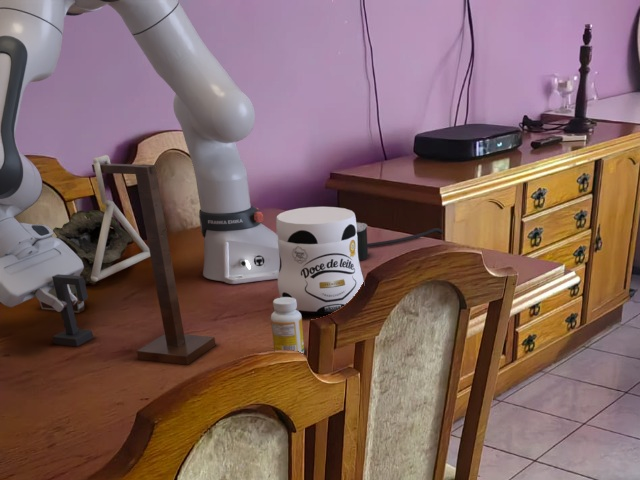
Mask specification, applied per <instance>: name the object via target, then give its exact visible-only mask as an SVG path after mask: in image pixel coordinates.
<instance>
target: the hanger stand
mask: <svg viewBox="0 0 640 480" xmlns="http://www.w3.org/2000/svg"><path fill="white" fill-rule="evenodd" d="M92 162H93V164H91V168H92V172H93V173H95V177H96V181H97V186H98V191H99V196H100V200H101V201H100V202H101V203H102V204H103V205H105V210H104V212H105V213H104V218H103V223H102V227H101V232H100V237H99V241H98V246H97V251H96V255H95V260H94V265H93V269H92V274H91V280H92V281H94V282H96V281H97V282H98V281H101V280H103V279H106V278H107V277H109V276H112V275H114V274H116V273H118V272H120V271H122V270H124V269H127V268H128V267H132V266H133V265H135V264H137V263H140V262H141V261H144V260H146V259H148V258H150V261H151V266H152V272H153V277H154V282H155V288H156V293H157V299H158V305H159V310H160V316H161V321H162V326H163V332H164V334H162V335H160V336H159V337H157V338H155V339H154V340H152V341H150V342H149V343H147V344H146V345H144V346H142V347H141V348H139V349H137V350H136V355H137V359H138V360H141V361H148V362H149V361H150V362H158V363H168V364H175V365H183V366H185V365H186V366H188V365H189V364H192V363H193V362H194V361H196V360H197V359H198V358H200V357H201V356H203V355H204V354H206V353H207V352H208V351H210V350H212V349H213V348H214V347H216V346H217V345H216V338H215V336H207V335H197V334H188V333H184V332H185V331H184V326H183V320H182V314H181V308H180V303H179V297H178V292H177V291H178V290H177V285H176V279H175V273H174V268H173V263H172V256H171V251H170V245H169V238H168V233H167V227H166V221H165V215H164V209H163V203H162V196H161V192H160V186H159V180H158V173H157V167H156V164H143V163H142V164H135V163H134V164H133V163H132V164H131V163H111V158H110V156H109V155H108V154H104V155H100V156H97V157H94V158H93V159H92ZM103 174H115V175H116V174H117V175H118V174H119V175H134V176H135V180H136V185H137V191H138V196H139V201H140V206H141V213H142V217H143V223H144V228H145V229H144V230H145V234H146V239H147V244H146V243H145V241H144V240H143V239H142V237H141V236H140V234H139V233H138V232H137V231H136V229H135V228H134V227H133V226H132V224H131V223H130V222H129V220H128V219H127V217H126V216H125V215H124V214H123V213H122V212H121V210H120V209H119V207H118V205H116V204H115V202H114V201H113V200H109V199H107V194H106V188H105V183H104V178H103ZM113 215H114V218H115V219H116V220H117V221H118V222H119V223H120V225H121V226H122V228H124V230H125V231H127V232H128V233H129V234H130V236H131V237H132V238H133V241H134V242H135V243H136V245H137V246H138V247H139V249H140V250H141V251H142V252H140V253H137V254H135V255H133V256H131V257H128V258H126V259H124V260H122V261H120V262H117V263H115V264H112V265H111V266H110V267H108V268H106V269H104V270H102V271H100V270H101V265H102V260H103V255H104V251H105V246H106V241H107V237H108V232H109V227H110V223H111V218H112V217H113ZM110 228H111V227H110ZM97 282H96V283H97Z"/></svg>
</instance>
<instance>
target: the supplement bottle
mask: <svg viewBox="0 0 640 480" xmlns="http://www.w3.org/2000/svg"><path fill="white" fill-rule="evenodd" d="M272 307H273V310H274V311H273V312H272V313H271V314H270V325H271V333H272V341H273V342H272V344H273V351H274V350H294V351H299V352H301V353H303V354H304V353H305V341H304V330H303V329H304V328H303V317H302V313H300V312H299V311H297V310H295V309H296V308H297V303H296V299H294V298H291V297H281V298H280V297H277V298H274V299H273V301H272Z"/></svg>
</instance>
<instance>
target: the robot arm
mask: <svg viewBox="0 0 640 480" xmlns="http://www.w3.org/2000/svg"><path fill="white" fill-rule="evenodd" d="M106 5H108V6H109V7H111V8H112V9H113V10H114V11H115V12H116V13H117V14H118V15H119V16H120V17H121V19H122V21H123V22H124V25H125V26H126V27H127V29H128V30H129V32H130V34H131V35H132V38H133V39H134V40H135V42H136V43H137V45H138V47H139V48H140V50H141V51H142V53H143V54H144V55H145V57H146V59H147V60H148V62H149V63H150V65H151V66H152V68H153V70H154V71H155V73H156V74H157V75H158V77H160V78H161V79H162V80H163V81H164V82H165V83H166V84H167V85H168V86H169V88H170V89H171V90H172V91H173V93H174V97H173V101H172V102H173V103H172V104H173V106H172V107H173V112H174V115H175V117H176V120H177V121H178V123H179V125H180V128H181V131H182V134H183V138H184V141H185V144H186V145H185V146H186V148H187V151H188V155H189V157H190V160H191V164H192V166H193V171H194V175H195V180H196V187H197V188H196V189H197V194H198V202H199V211H198V214H199V215H198V218H199V226H200V233H201V235H202V237H203V245H204V247H203V249H204V254H203V255H204V258H203V259H204V261H203V271H202V276H203V278H206V279H208V280H211V281H217V282H218V281H219V282H224V283H225V284H230V285H237V284H245V283H253V282H254V283H255V282H261V281H269V280H270V281H271V280H278V274H279V268H280V256H279V248H278V236H277V232H275V231H273V230H272V229H270V228H269V227H267V226H266V225H264V224H262V223H263V221H264V215H263V213H262V211H261V210H260V209H259V207H254V206H253V205H251V195H250V187H249V178H248V171H247V168H246V165H245V163H244V162H243V160H242V157H241V155H240V152H239V149H238V146H237V143H236V142H240V141H242V140H245V139H246V138H247V137H248V136H249V135H250V134H251V132H252V131H253V129H254V127H255V122H256V112H255V108H254V105H253V103H252V100H251V99H250V98H249V97H248V95H246V93H244V92H243V91H242V90H241V89H240V87H239V86H238V85H237V84H236V82H235V81H234V80H233V78H232V77H231V76H230V75H229V73H228V72H227V71H226V70H225V68H224V67H223V66H222V64H221V63H220V62H219V60H218V59H217V58H216V56H214V55H213V53H212V52H211V50H210V49H209V48H208V47H207V45H206V44H205V43H204V41H203V40H202V37H200V35H199V33H198V32H197V29H195V27H194V25H193V23H192V21H191V20H190V18H189V16H188V15H187V13H186V11H185V9H184V8H183V6H182V5H181V3H180V1H179V0H0V303H1V304H2V305H4V306H6V307H8V308H13V307H15V306H19V305H20V304H22V303H24V302H27V301H29V300H32V299H34V298H35V299H37V300H38V302H39V301H41V302H43V303H46V304H48V305H50V306H52V307H53V308H54V309H55V310H54V311H56V312H57V313H61V311H62V310H64V309H65V308H66V306H67V303H66V302H65V301H63V299H62V298H61V297H60V298H56V297H55V296H53V295H51V294H49V293H48V292H49V290H52V289H54V288H55V287H54V282H53V278H52V276H55V275H57V274H60V275H72V276H79V275H80V274H81V272H82V270H83V269H84V265H83V262H82V260H81V259H80V258H79V257H78V256H77V255H76V254H75V253H74V252H73V251H72V250H71V249H70V248H69V247H68V246H67V245H66V244H65V243H64V242H63V241H61V240H60V239H58V238H56V237H57V236H53V235H54V232H53V229H52V228H50V227H49V226H48V225H46V224H33V223H26V222H19V221H18V220H17V218H15V217H17V216H19V215H21V214H22V213H24V212H25V211H26V210H28V209H29V208H31V207H32V206H33V205H34V204H36V203H37V202H38V200H39V199H40V197H41V194H42V192H43V188H44V187H43V178H42V175H41V172H40V170H39V168H38V167H37V166H36V165H35V163H33V162H32V161H31V160H30V159H29V158H28V157H27V156H26V155H24V154H23V153H22V152H21V151H20V150H19V147H18V144H17V138H16V132H17V126H18V122H19V121H18V120H19V117H20V111H21V106H22V100H23V95H24V91H25V89H26V87H27V86H28V85H29V84H30V83H35V82H36V83H37V82H41V81H43V80H46V79H48V78H50V77H51V76H52V75H54V73H55V70H56V68H57V66H58V63H59V59H60V57H61V52H62V47H63V46H62V44H63V37H64V28H65V19H66V16H71V17H73V16H75V17H76V16H80V15H83V14H86V13H87V14H88V13H92V12H95V11H99V10H101V9H103V7H105V6H106ZM433 233H439V234H440V235H443V234H445V233H444V231H443V230H442V229H441V228H439V227H436V228H435V227H434V228H431V229H429V230H427V231H425V232H420V233H416V234H413V235H409V236H405V237H400V238H395V239H388V240H384V241H377V242H376V241H375V242H370V243H367V246H368V248H373V247H378V246H385V245H392V244H398V243H402V242H406V241H411V240H414V239H415V240H416V239H418V238H423V237H426V236H429V235H431V234H433ZM67 286H68V290H69V294H70V299H71V303H72V305H75V304H76V302H77V298H76V297H75V296H74V295H73V294H72V293H71V290H70V287H69V284H67Z"/></svg>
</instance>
